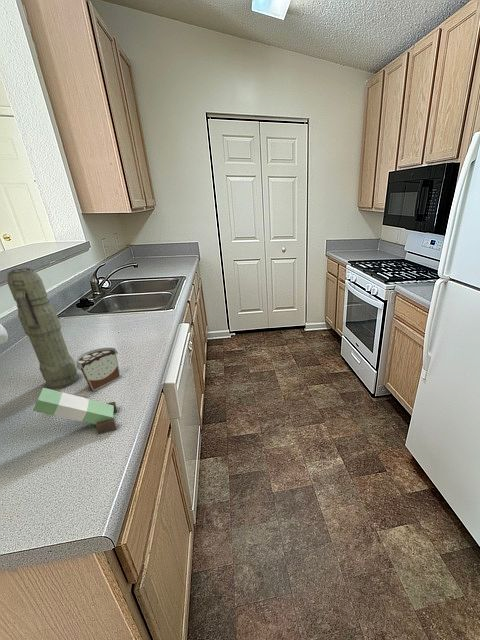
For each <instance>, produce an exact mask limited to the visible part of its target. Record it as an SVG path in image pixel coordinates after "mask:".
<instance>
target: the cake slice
mask: <svg viewBox="0 0 480 640" xmlns="http://www.w3.org/2000/svg"><path fill="white" fill-rule="evenodd" d="M117 350H118V349H116V348H115V347H101V348H100V347H99V348H95V349H92V350H89V351H85V352H83V353H81V354H80V355H79V356H77V358H76V361H75V362H76V363H75V364H76V369H77V370H79V371H81V373H82V375H83V377H84V379H85V381H86V383H87V385H88V387H89V389H90V391H92V392H95V391H97V390H99V389H101V388H103V387H105V386H107V385H109V384H111V383H113V382H114V381H117V380H119V379H120V378H121V372H120V367H119V361H118V356H117V355H118V354H119V352H118V351H117Z"/></svg>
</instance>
